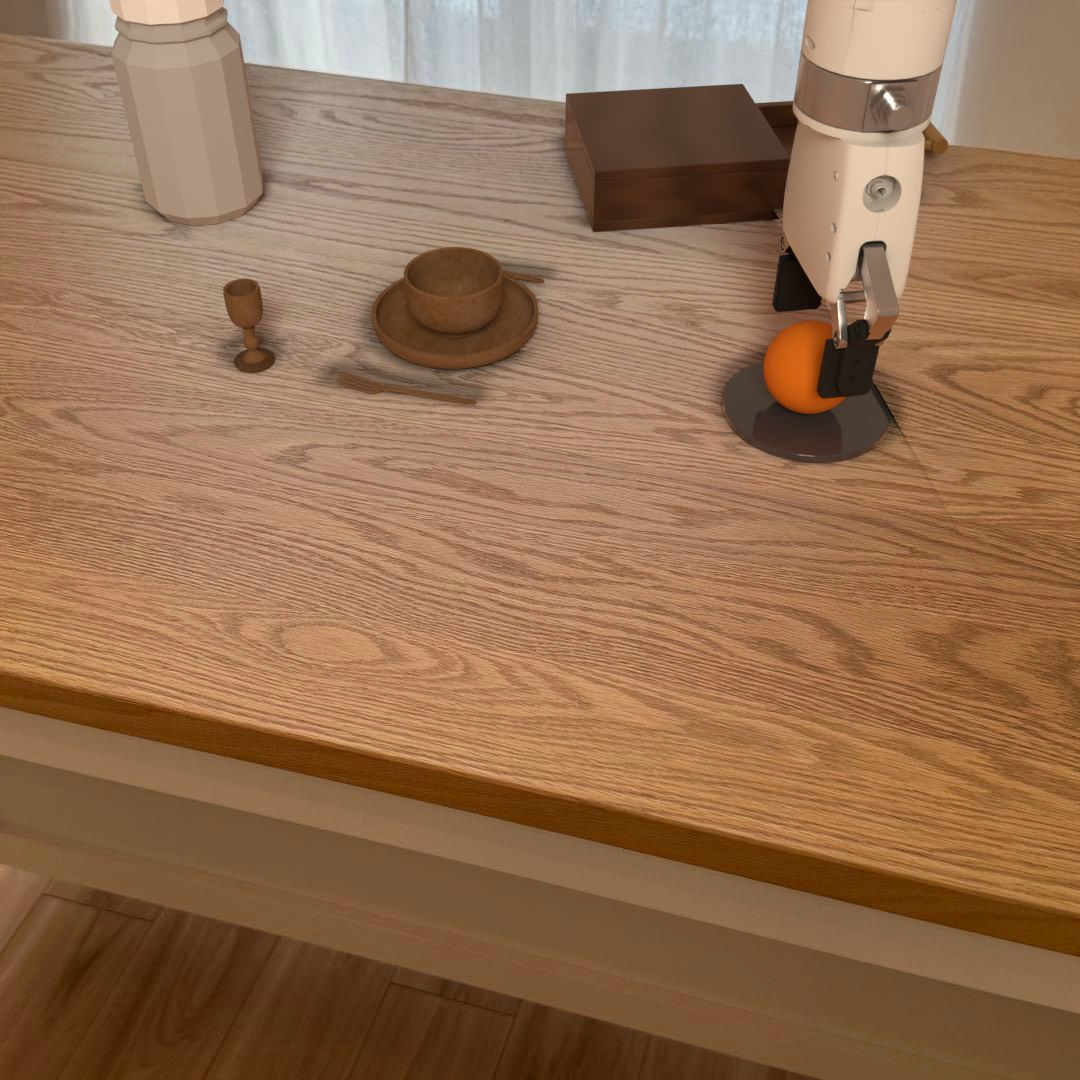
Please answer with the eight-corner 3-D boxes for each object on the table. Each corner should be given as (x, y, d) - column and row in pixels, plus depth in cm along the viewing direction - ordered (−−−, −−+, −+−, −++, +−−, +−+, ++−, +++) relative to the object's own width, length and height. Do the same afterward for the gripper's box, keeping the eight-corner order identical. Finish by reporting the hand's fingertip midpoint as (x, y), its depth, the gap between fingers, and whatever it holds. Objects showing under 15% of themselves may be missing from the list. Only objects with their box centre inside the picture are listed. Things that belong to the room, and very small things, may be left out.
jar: (130, 227, 101) (74, -2, 88) (169, 172, 108) (122, -47, 96) (248, 234, 100) (208, 4, 88) (279, 178, 107) (246, -42, 95)
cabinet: (736, 140, 113) (743, 83, 109) (782, 219, 102) (791, 158, 98) (564, 151, 111) (565, 93, 107) (593, 232, 100) (595, 171, 97)
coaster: (857, 358, 87) (859, 351, 87) (913, 455, 79) (915, 448, 79) (705, 370, 86) (705, 363, 86) (746, 470, 78) (747, 463, 78)
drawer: (903, 123, 113) (910, 87, 111) (960, 193, 103) (970, 155, 101) (702, 135, 111) (705, 98, 109) (741, 208, 101) (746, 169, 99)
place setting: (505, 414, 82) (504, 339, 78) (224, 374, 86) (209, 300, 82) (561, 280, 95) (562, 209, 91) (314, 249, 98) (305, 180, 94)
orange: (834, 373, 85) (847, 297, 81) (863, 427, 80) (878, 350, 76) (748, 382, 84) (757, 307, 80) (773, 437, 80) (783, 360, 76)
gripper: (995, 153, 62) (923, 426, 74) (878, 24, 74) (832, 275, 86) (850, 163, 61) (800, 437, 73) (756, 31, 74) (727, 283, 85)
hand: (818, 349), depth 79 cm, fingers open, 9 cm apart
